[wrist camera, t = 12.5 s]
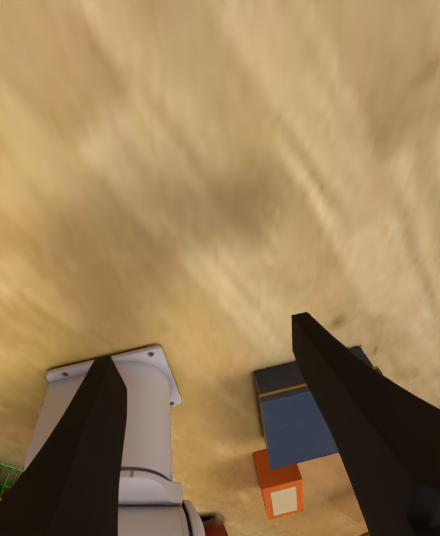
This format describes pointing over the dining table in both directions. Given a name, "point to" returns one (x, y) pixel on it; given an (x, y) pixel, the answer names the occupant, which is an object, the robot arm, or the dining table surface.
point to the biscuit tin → (293, 415)
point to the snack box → (279, 487)
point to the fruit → (214, 527)
